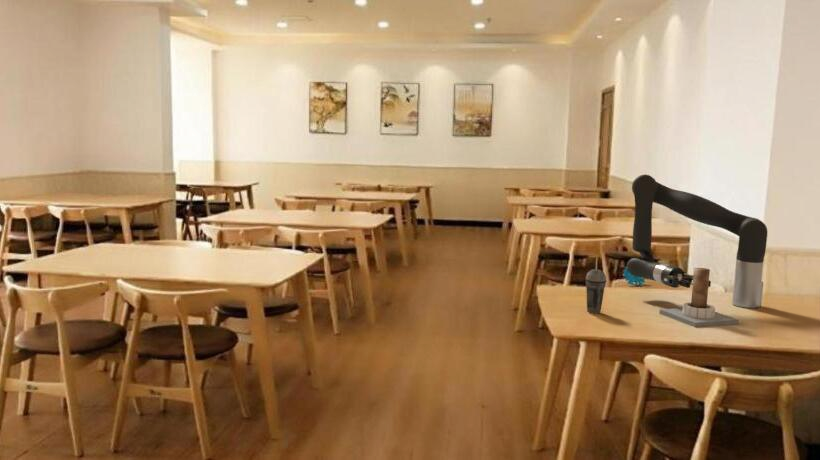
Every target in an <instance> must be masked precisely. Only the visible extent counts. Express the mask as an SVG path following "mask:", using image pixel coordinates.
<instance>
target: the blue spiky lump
mask: <svg viewBox="0 0 820 460" xmlns="http://www.w3.org/2000/svg"><path fill="white" fill-rule="evenodd" d="M622 272H623V274H622V276H623V277H625V279H624V280H625V281H626V282H627V284H630V285H633V283H634V286H635V287H638V286H639V287H641V286H643V285H644V283H645V282H646V279H647V278H642V277H636V276H633V275H631V274H630V273H629V272H628V270H627V266H626V267H625V269H623V271H622Z"/></svg>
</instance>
